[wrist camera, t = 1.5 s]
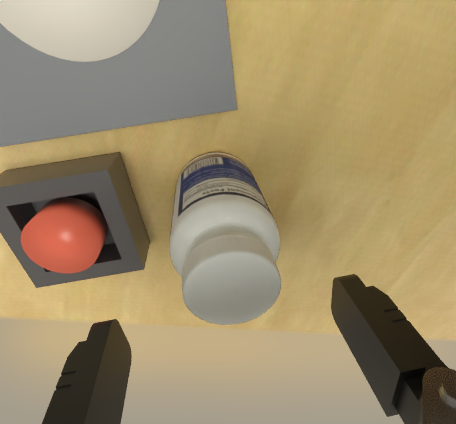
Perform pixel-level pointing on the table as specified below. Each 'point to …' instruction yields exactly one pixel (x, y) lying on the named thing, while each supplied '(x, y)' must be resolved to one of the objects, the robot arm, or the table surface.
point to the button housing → (84, 190)
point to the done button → (65, 235)
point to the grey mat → (110, 65)
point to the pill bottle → (224, 241)
